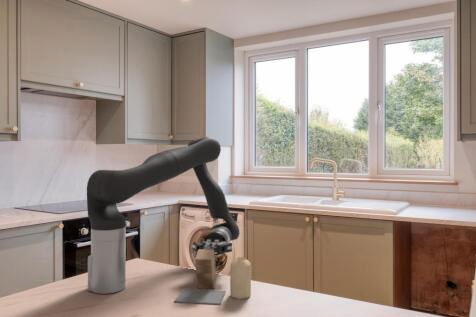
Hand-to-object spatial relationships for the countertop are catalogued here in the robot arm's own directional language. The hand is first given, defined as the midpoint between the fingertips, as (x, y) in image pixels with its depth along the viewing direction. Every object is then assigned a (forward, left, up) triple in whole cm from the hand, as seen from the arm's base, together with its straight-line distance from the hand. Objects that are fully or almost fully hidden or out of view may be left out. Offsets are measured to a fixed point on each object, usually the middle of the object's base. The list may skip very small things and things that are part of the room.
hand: (206, 253), depth 110 cm
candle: (+10, -5, -10) cm, 15 cm away
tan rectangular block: (0, +1, -9) cm, 9 cm away
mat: (0, -8, -10) cm, 12 cm away
